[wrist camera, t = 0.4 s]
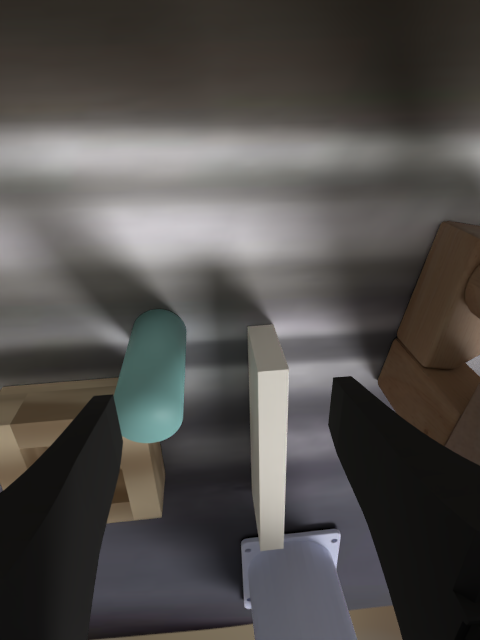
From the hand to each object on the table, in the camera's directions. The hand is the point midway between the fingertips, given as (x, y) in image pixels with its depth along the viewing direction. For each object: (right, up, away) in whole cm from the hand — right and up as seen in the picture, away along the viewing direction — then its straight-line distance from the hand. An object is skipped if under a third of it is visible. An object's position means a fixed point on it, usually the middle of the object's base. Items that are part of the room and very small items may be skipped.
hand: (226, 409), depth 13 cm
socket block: (-9, -4, +13) cm, 16 cm away
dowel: (-4, +2, +10) cm, 11 cm away
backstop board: (+2, -4, +13) cm, 14 cm away
